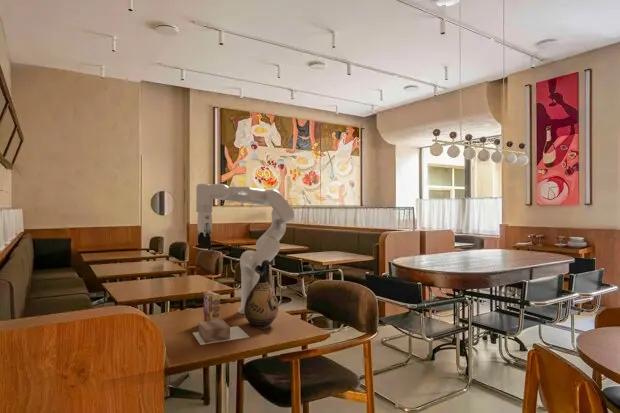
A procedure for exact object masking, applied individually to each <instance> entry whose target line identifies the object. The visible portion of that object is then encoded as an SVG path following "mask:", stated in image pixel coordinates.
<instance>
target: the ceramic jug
mask: <svg viewBox="0 0 620 413" xmlns="http://www.w3.org/2000/svg"><path fill="white" fill-rule="evenodd" d="M270 263H271V261H270V262H269V261H268V260H264V261H263V262H262V265H261V266H260V265H257V266H256V268H255V271H256V273H258V274H259V275H260V278H259V280H258V282H257V284H256V285H255V286H254V288H253V289H252V290H251V292H250V294H249V295H248V297H247V300H246V303H245V307H244V313H245V314H244V317H245V318H246V320H247V322H248V323H249V325H250V326H251V327H254V328H257V330H265V329H269V328H270V327H271V326H272V323H273V322H274V321H275V320H276V319H277V317H278V313H279V302H278V298H277V295H276V294H275V292H274V290H273V288H272V287H271V285H270V284H269V281H268V276H269V271H270Z"/></svg>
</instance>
